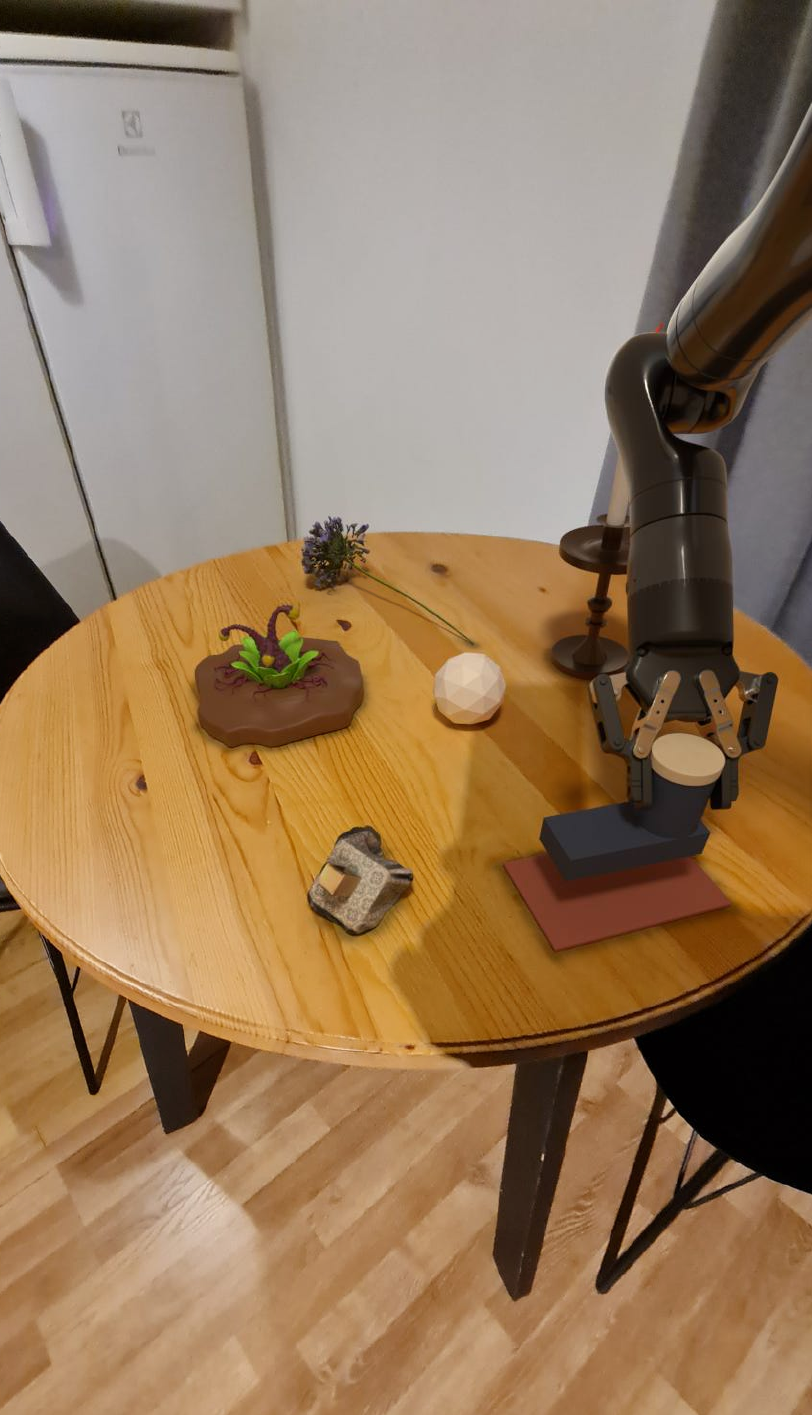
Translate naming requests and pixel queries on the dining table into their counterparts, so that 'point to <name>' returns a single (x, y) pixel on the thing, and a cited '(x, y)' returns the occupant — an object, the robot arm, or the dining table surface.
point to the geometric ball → (469, 688)
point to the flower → (339, 555)
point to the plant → (277, 687)
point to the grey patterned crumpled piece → (358, 882)
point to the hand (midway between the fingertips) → (682, 808)
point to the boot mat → (611, 898)
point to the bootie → (641, 816)
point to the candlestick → (605, 556)
